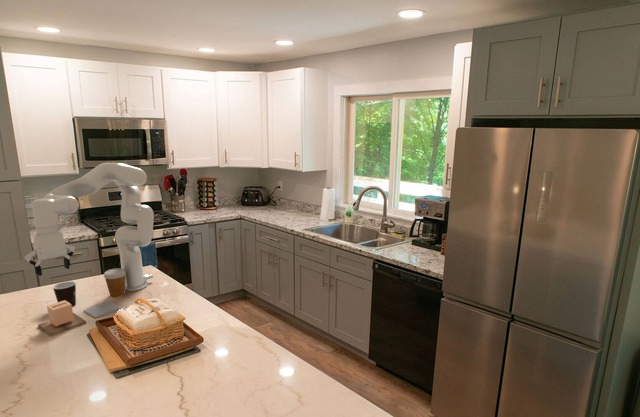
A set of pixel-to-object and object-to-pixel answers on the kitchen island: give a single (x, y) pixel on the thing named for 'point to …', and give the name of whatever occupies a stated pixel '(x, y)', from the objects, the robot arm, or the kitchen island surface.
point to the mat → (102, 309)
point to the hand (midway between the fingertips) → (53, 271)
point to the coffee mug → (66, 292)
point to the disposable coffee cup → (115, 282)
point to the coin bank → (60, 313)
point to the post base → (61, 326)
